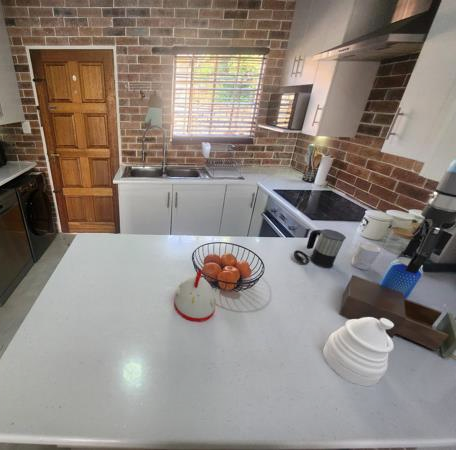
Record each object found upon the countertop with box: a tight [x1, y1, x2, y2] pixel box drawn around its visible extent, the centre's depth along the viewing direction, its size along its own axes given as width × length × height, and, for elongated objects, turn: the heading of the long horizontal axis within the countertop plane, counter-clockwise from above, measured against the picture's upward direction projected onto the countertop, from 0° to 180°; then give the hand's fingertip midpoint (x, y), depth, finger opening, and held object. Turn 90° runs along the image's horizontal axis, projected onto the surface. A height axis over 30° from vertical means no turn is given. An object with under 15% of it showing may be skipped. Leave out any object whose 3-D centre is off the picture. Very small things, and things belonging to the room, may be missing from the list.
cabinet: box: [338, 274, 406, 339], centre depth 84 cm, size 14×15×9 cm
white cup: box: [350, 241, 381, 271], centre depth 110 cm, size 8×8×10 cm
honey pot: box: [322, 317, 395, 388], centre depth 65 cm, size 13×13×18 cm
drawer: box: [395, 298, 456, 359], centre depth 75 cm, size 19×13×7 cm
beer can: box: [378, 256, 424, 299], centre depth 90 cm, size 8×8×16 cm
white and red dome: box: [173, 269, 216, 323], centre depth 82 cm, size 14×14×15 cm
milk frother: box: [293, 228, 347, 269], centre depth 110 cm, size 14×16×15 cm
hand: (408, 263), depth 87 cm, fingers open, 13 cm apart
